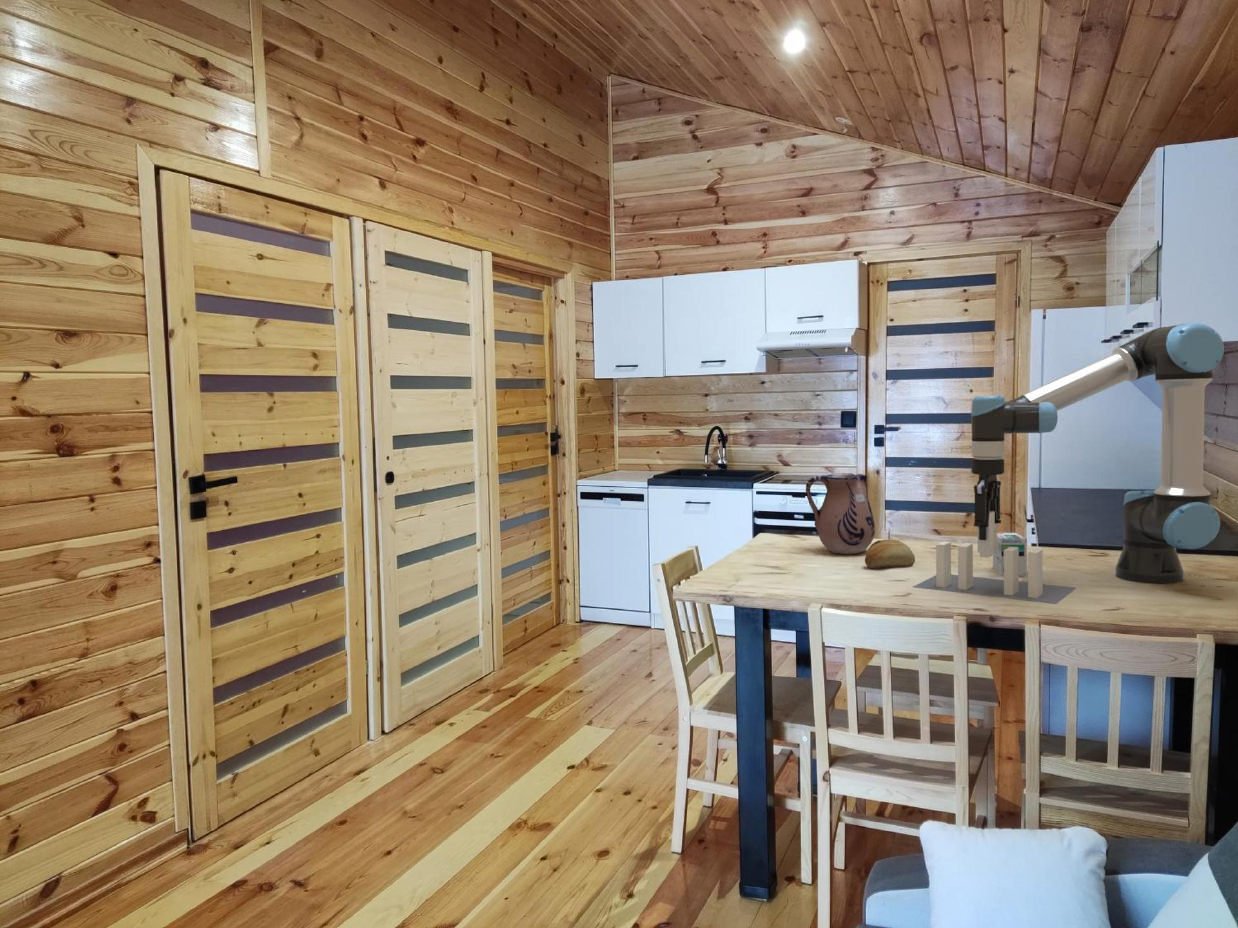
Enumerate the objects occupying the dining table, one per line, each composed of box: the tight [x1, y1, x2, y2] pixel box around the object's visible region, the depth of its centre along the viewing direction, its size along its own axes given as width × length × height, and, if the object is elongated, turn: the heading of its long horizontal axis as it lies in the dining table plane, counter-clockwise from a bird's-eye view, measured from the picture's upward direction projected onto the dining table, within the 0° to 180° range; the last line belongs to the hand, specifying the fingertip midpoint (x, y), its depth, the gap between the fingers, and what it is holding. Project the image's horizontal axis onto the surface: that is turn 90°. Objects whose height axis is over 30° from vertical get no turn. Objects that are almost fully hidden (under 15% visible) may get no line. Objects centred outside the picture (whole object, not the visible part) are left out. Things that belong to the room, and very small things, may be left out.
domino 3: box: [979, 511, 995, 559], centre depth 212 cm, size 2×5×11 cm, turn 140°
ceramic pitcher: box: [805, 472, 876, 555], centre depth 272 cm, size 18×21×25 cm
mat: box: [912, 573, 1077, 605], centre depth 216 cm, size 34×20×1 cm, turn 50°
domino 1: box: [935, 541, 952, 587], centre depth 220 cm, size 2×5×11 cm, turn 140°
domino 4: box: [1003, 547, 1020, 595], centre depth 209 cm, size 2×5×11 cm, turn 140°
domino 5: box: [1027, 548, 1044, 598], centre depth 206 cm, size 2×5×11 cm, turn 140°
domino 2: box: [957, 542, 974, 590], centre depth 216 cm, size 2×5×11 cm, turn 139°
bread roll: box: [864, 539, 916, 569], centre depth 248 cm, size 10×15×8 cm, turn 100°
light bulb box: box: [992, 532, 1028, 577], centre depth 233 cm, size 11×7×11 cm, turn 168°
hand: (987, 550), depth 212 cm, fingers closed on domino 3, 5 cm apart
